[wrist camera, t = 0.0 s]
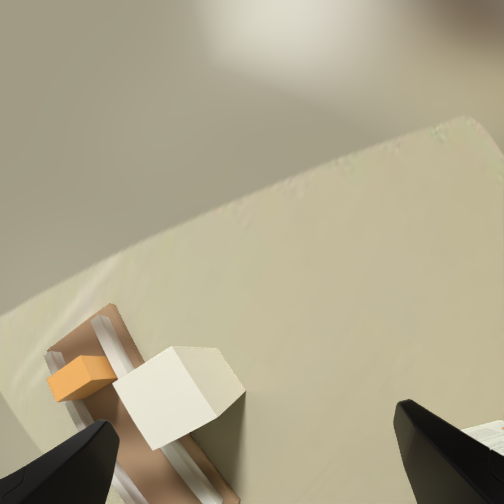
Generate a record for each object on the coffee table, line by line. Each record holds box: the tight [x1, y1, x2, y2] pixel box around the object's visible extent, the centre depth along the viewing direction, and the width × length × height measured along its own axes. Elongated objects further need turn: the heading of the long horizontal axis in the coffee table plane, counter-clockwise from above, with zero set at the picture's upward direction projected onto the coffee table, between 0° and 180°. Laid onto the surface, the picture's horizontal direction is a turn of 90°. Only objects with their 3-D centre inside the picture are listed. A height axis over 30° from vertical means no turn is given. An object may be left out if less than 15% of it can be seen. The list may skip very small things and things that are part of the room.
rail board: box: [44, 303, 240, 504], centre depth 20 cm, size 20×9×3 cm, turn 34°
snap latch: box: [47, 355, 118, 402], centre depth 20 cm, size 2×4×4 cm, turn 124°
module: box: [112, 346, 246, 450], centre depth 18 cm, size 4×4×10 cm
